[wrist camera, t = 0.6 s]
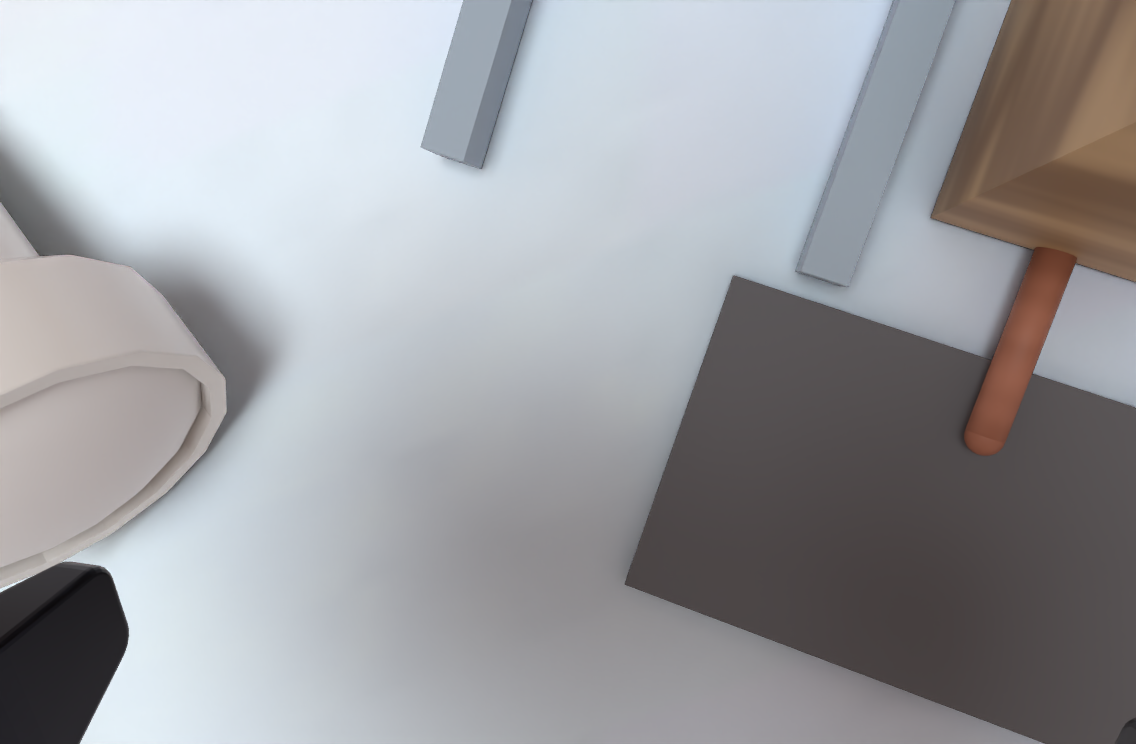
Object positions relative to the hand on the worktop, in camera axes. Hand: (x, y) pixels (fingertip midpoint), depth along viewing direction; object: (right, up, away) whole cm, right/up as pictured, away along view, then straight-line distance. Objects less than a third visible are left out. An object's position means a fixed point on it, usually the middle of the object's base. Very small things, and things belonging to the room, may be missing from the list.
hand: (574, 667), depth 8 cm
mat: (+8, -1, +12) cm, 15 cm away
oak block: (+10, +5, +11) cm, 16 cm away
